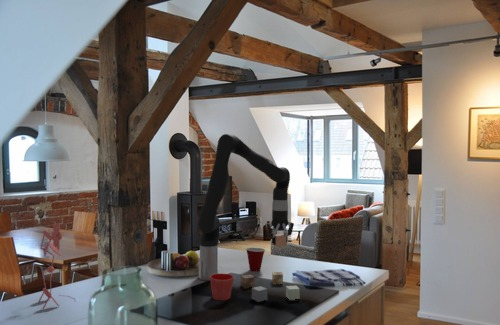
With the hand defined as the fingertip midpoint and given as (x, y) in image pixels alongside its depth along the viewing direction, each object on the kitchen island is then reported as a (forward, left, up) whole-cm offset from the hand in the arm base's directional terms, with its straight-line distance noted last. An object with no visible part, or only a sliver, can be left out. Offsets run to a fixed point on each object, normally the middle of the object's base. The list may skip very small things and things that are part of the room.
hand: (279, 244), depth 230 cm
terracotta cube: (0, 0, -1) cm, 1 cm away
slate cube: (-14, -14, -21) cm, 29 cm away
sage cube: (+1, -16, -21) cm, 27 cm away
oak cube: (+2, +8, -21) cm, 23 cm away
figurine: (-100, +2, -22) cm, 102 cm away
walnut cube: (-14, +6, -21) cm, 26 cm away
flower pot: (-30, -8, -22) cm, 38 cm away
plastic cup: (-2, +34, -22) cm, 40 cm away
